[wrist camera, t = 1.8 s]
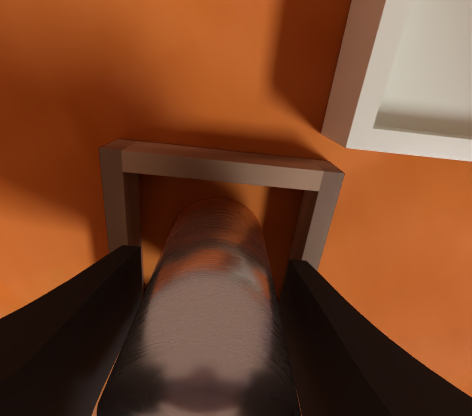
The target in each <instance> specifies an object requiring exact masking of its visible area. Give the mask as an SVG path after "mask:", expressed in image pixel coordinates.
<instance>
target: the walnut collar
mask: <svg viewBox="0 0 472 416" xmlns="http://www.w3.org/2000/svg"><path fill="white" fill-rule="evenodd" d="M99 158H100V168H101V177H102V187H103V197H104V207H105V217H106V226H107V236H108V246H109V253H111V252H112V251H114V250H115V249H117V248H118V247H120V246H122V245H129V246H141V263H142V286H143V294H142V297H141V301H142V298H143V296H144V278H143V254H142V230H141V206H140V183H139V174H149V175H159V176H169V177H180V178H190V179H200V180H210V181H220V182H230V183H240V184H250V185H260V186H270V187H281V188H291V189H301V190H304V193H303V197H302V201H301V206H300V210H299V215H298V219H297V224H296V228H295V233H294V237H293V241H292V246H291V250H290V255H289V259H294V260H306V261H307V262H308V263H309V264H310V265H312V266H313V267H314V268H315V270H316V271H317V270H318V266H319V263H320V259H321V256H322V252H323V248H324V245H325V241H326V238H327V234H328V231H329V227H330V224H331V220H332V217H333V213H334V210H335V206H336V203H337V199H338V196H339V192H340V189H341V185H342V182H343V178H344V174H345V173H344V172H342V171H341V170H340V169H338V168H337V167H336V166H335V165H333V164H332V163H331V162H330V161H324V160H314V159H305V158H295V157H286V156H276V155H267V154H257V153H248V152H238V151H229V150H219V149H210V148H200V147H191V146H181V145H172V144H162V143H153V142H143V141H134V140H124V139H117V140H115V141H113V142H111V143H108V144H106V145H104V146H102V147H100V148H99ZM289 259H288V262H289ZM287 267H288V264H287ZM286 271H287V268H286ZM285 275H286V272H285ZM284 280H285V277H284ZM283 284H284V281H283ZM282 289H283V286H282ZM281 293H282V290H281ZM280 298H281V295H280ZM141 301H140V303H141ZM279 302H280V299H279ZM139 305H140V304H139ZM278 306H279V303H278ZM138 308H139V307H138ZM279 311H280V307H279Z"/></svg>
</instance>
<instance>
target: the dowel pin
mask: <svg viewBox="0 0 472 416" xmlns="http://www.w3.org/2000/svg"><path fill="white" fill-rule="evenodd" d="M97 416H301V411H300V406H299V401H298V397H297V392H296V387H295V382H294V378H293V373H292V368H291V363H290V359H289V354H288V349H287V344H286V340H285V335H284V330H283V325H282V321H281V316H280V311H279V306H278V302H277V297H276V292H275V287H274V283H273V278H272V273H271V268H270V264H269V259H268V254H267V249H266V245H265V240H264V235H263V230H262V227H261V224H260V222H259V220H258V219H257V217H256V216H255V215H254V214H253V213H252V211H251V210H249V209H248V208H247V207H245V206H244V205H242V204H240V203H238V202H236V201H233V200H230V199H225V198H208V199H203V200H200V201H197V202H195V203H193V204H191V205H189V206H188V207H186V208H185V209H184V210H183V211H182V212H181V213H180V214H179V215H178V217H177V219H176V220H175V222H174V225H173V227H172V229H171V232H170V234H169V236H168V239H167V241H166V244H165V246H164V248H163V251H162V253H161V255H160V258H159V260H158V263H157V265H156V267H155V270H154V272H153V274H152V277H151V279H150V282H149V284H148V286H147V289H146V291H145V293H144V296H143V298H142V301H141V303H140V305H139V308H138V310H137V312H136V315H135V317H134V320H133V322H132V324H131V327H130V329H129V331H128V334H127V336H126V339H125V341H124V343H123V346H122V348H121V350H120V353H119V355H118V357H117V360H116V362H115V365H114V367H113V369H112V372H111V374H110V376H109V379H108V381H107V384H106V386H105V389H104V391H103V393H102V396H101V398H100V400H99V403H98V407H97Z"/></svg>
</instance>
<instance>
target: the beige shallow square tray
mask: <svg viewBox="0 0 472 416" xmlns="http://www.w3.org/2000/svg"><path fill="white" fill-rule="evenodd" d="M321 135H323V136H325V137H327V138H329V139H330V140H332V141H334V142H336V143H338V144H340V145H341V146H343V147H345V148H351V149H361V150H370V151H379V152H388V153H398V154H407V155H416V156H425V157H435V158H444V159H453V160H462V161H471V162H472V0H352V1H351V6H350V10H349V14H348V19H347V23H346V27H345V32H344V36H343V40H342V45H341V49H340V53H339V57H338V62H337V66H336V70H335V75H334V79H333V83H332V88H331V92H330V96H329V101H328V105H327V109H326V114H325V118H324V122H323V127H322V131H321Z"/></svg>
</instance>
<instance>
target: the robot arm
mask: <svg viewBox="0 0 472 416" xmlns="http://www.w3.org/2000/svg"><path fill="white" fill-rule="evenodd" d="M142 294H143V286H142V263H141V246H129V245H122V246H120V247H118V248H117V249H115V250H114V251H112V252H111V253H109V254H108V255H106V256H105V257H103V258H102V259H100V260H99V261H97V262H96V263H94V264H93V265H91V266H90V267H88V268H87V269H85V270H84V271H82V272H81V273H79V274H78V275H76V276H75V277H73V278H71V279H70V280H68V281H67V282H65V283H63V284H62V285H60V286H58V287H57V288H55V289H53V290H52V291H50V292H48V293H47V294H45V295H43V296H42V297H40V298H38V299H36V300H35V301H33V302H31V303H29V304H28V305H26V306H24V307H22V308H20V309H18V310H16V311H15V312H13V313H11V314H9V315H7V316H5V317H3V318H1V319H0V416H91V415H92V413H93V410H94V407H95V405H96V402H97V400H98V398H99V395H100V393H101V390H102V388H103V386H104V384H105V382H106V380H107V378H108V375H109V373H110V371H111V369H112V367H113V365H114V363H115V360H116V358H117V356H118V354H119V352H120V350H121V348H122V346H123V343H124V341H125V339H126V336H127V334H128V331H129V329H130V327H131V324H132V322H133V320H134V317H135V315H136V312H137V310H138V307H139V304H140V301H141V297H142ZM279 307H280V316H281V321H282V325H283V330H284V335H285V340H286V344H287V349H288V354H289V359H290V363H291V368H292V373H293V378H294V382H295V387H296V391H297V395H298V399H299V404H300V409H301V414H302V416H472V397H470V396H469V395H467V394H466V393H464V392H462V391H461V390H459V389H458V388H456V387H455V386H454V385H452V384H451V383H449V382H448V381H446V380H445V379H443V378H442V377H441V376H439V375H438V374H436V373H435V372H433V371H432V370H430V369H429V368H428V367H426V366H425V365H423V364H422V363H421V362H419V361H418V360H417V359H415V358H414V357H412V356H411V355H410V354H409V353H407V352H406V351H405V350H403V349H402V348H401V347H400V346H398V345H397V344H396V343H394V342H393V341H392V340H391V339H389V338H388V337H387V336H386V335H384V334H383V333H382V332H381V331H380V330H378V329H377V328H376V327H375V326H374V325H373V324H372V323H370V322H369V321H368V320H367V319H366V318H365V317H364V316H363V315H361V314H360V313H359V312H358V311H357V310H356V309H355V308H354V307H353V306H352V305H351V304H349V303H348V302H347V301H346V300H345V299H344V298H343V297H342V296H341V295H340V294H339V293H338V292H337V291H336V290H335V289H334V288H333V287H332V286H331V285H330V284H329V283H328V282H327V281H326V280H325V279H324V278H323V277H322V276H321V275H320V274H319V273H318V272H317V271H316V270H315V268H314V267H313V266H312V265H310V264H309V263H308V262H307V261H306V260H294V259H289V262H288V267H287V271H286V275H285V280H284V284H283V289H282V293H281V298H280V302H279Z"/></svg>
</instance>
